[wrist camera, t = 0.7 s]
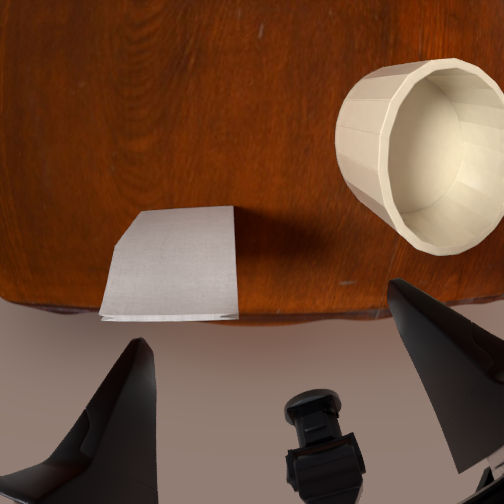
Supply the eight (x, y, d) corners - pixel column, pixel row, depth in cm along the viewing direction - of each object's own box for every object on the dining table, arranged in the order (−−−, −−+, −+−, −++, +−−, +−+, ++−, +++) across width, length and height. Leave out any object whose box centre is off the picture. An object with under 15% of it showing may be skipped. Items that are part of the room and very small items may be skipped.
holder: (468, 193, 22) (520, 222, 16) (355, 236, 24) (395, 282, 17) (445, 59, 17) (504, 56, 11) (312, 83, 18) (350, 73, 12)
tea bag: (141, 211, 21) (88, 284, 12) (233, 205, 22) (236, 279, 13) (148, 256, 23) (109, 344, 14) (235, 252, 23) (240, 344, 14)
